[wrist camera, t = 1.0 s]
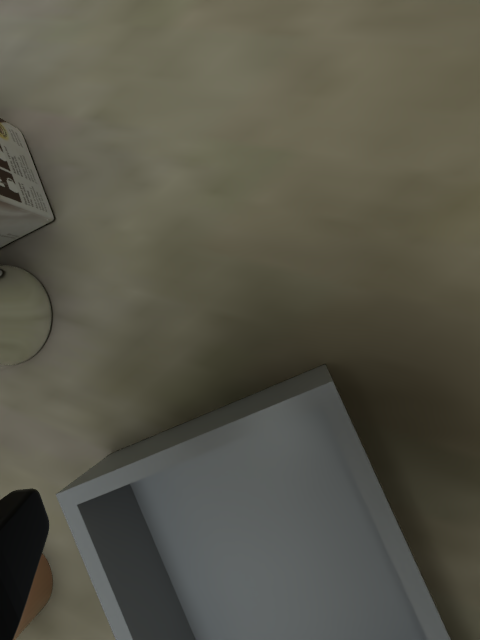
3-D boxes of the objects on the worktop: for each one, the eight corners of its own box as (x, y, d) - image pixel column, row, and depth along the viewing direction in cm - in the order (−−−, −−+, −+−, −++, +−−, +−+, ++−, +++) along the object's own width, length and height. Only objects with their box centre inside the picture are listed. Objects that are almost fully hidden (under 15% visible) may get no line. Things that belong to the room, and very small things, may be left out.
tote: (469, 679, 19) (525, 804, 14) (231, 741, 22) (210, 868, 17) (325, 363, 20) (332, 381, 15) (110, 454, 22) (55, 494, 17)
